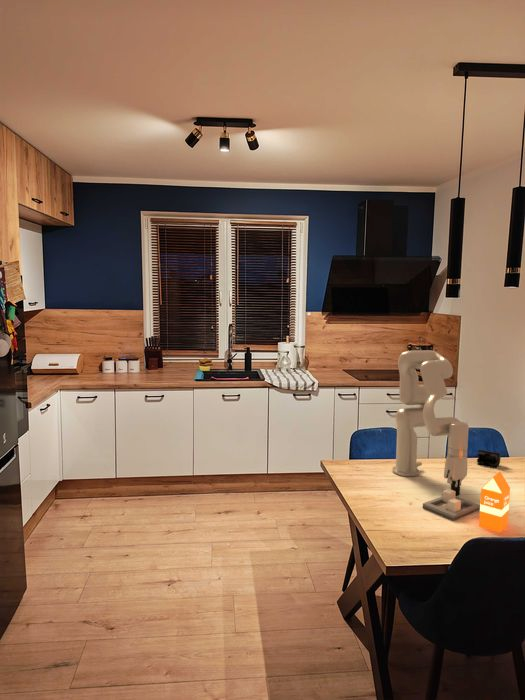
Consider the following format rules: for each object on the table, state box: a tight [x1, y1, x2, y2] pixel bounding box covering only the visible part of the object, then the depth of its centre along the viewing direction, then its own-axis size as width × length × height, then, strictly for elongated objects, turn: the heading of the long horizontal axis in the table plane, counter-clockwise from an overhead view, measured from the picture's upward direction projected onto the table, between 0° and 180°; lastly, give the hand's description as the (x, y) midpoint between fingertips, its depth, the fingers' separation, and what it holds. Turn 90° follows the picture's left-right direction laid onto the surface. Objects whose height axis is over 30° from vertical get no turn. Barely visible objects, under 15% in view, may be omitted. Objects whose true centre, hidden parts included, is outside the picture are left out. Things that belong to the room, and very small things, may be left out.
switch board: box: [422, 495, 480, 522], centre depth 204 cm, size 18×14×2 cm
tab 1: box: [442, 488, 456, 503], centre depth 209 cm, size 4×3×4 cm
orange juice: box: [478, 471, 511, 533], centre depth 189 cm, size 8×9×20 cm
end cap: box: [476, 449, 502, 469], centre depth 258 cm, size 10×7×7 cm
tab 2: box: [448, 498, 461, 513], centre depth 199 cm, size 4×3×4 cm
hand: (455, 494), depth 211 cm, fingers closed
